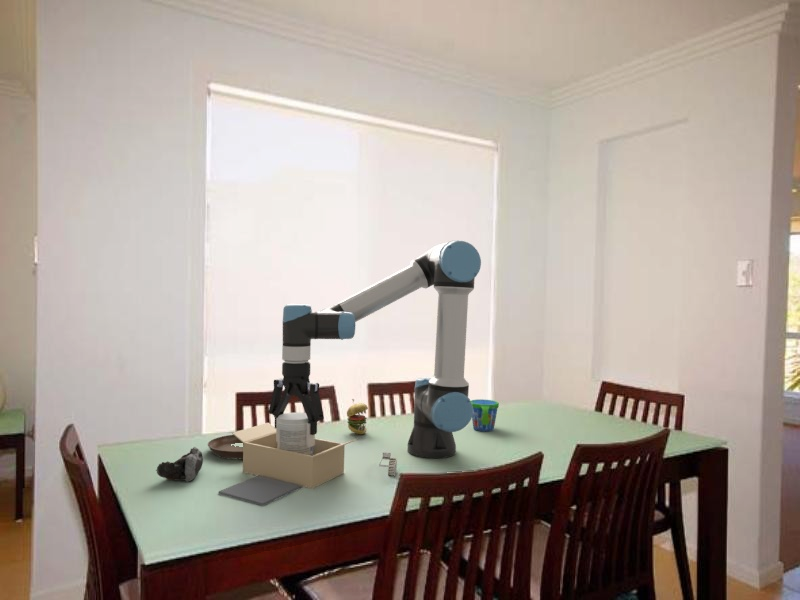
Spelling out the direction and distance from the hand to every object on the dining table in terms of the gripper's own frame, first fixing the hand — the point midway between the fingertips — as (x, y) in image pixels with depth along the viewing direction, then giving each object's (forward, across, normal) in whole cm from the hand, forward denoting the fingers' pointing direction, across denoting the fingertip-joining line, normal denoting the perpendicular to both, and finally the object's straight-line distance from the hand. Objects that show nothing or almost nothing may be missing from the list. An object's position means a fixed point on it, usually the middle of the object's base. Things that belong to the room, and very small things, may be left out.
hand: (295, 443), depth 152 cm
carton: (+8, 0, 0) cm, 8 cm away
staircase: (+9, -22, -12) cm, 27 cm away
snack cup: (+9, -27, -75) cm, 80 cm away
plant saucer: (+8, +25, -7) cm, 27 cm away
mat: (+8, -2, +15) cm, 17 cm away
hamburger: (+8, +8, -44) cm, 45 cm away
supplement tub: (+7, 0, 0) cm, 7 cm away
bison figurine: (+8, +22, +19) cm, 30 cm away
